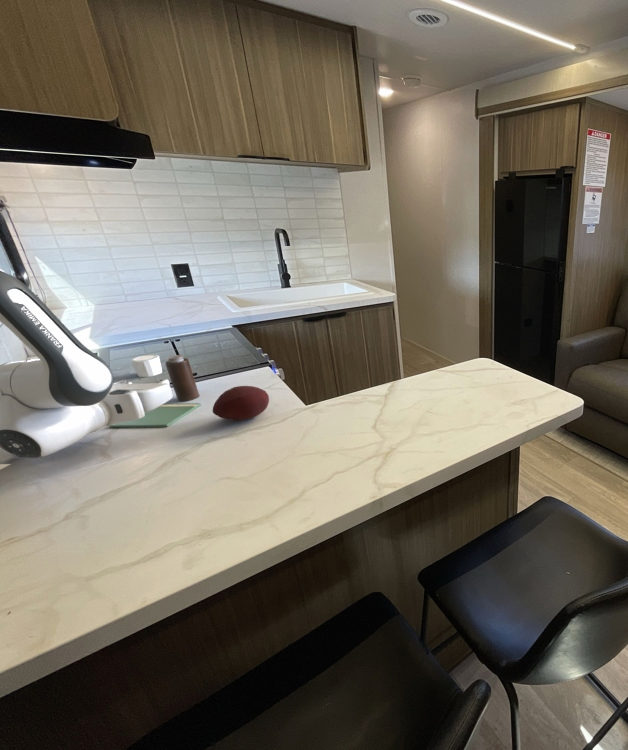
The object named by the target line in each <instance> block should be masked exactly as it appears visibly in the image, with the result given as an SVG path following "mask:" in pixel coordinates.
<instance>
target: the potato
mask: <svg viewBox="0 0 628 750" xmlns="http://www.w3.org/2000/svg"><path fill="white" fill-rule="evenodd" d="M269 403H270V396H269V394H268V393H267V391H266V390H264V389H262V388H259V387H257V386H253V385H239V386H233V387H231V388H229V389H227V390H225V391H223V393H221V394H220V395H219V396H218V398H217V399H216V401H215V402H214V403H213V406H212V414H213V415H215V416H217V417H219V418H220V419H225V420H227V421H245V420H249V419H252V418H255V417H257V416H259V415H261V414H262V413H263V412H265V410H266V409H267V408H268V406H269Z"/></svg>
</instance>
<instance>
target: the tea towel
mask: <svg viewBox="0 0 628 750" xmlns="http://www.w3.org/2000/svg"><path fill="white" fill-rule="evenodd" d="M201 405H202V404H201V402H195V403H194V402H192V403H191V402H190V403H188V402H187V403H164V404H163V405H161V406H159V407H157V408H156V409H154V410H151V411H149V412H145V416H144V417H142V418H141V419H138V420H132V421H126V422H120V423H116V424H113V425H110V426H108V427H109V428H113V429H114V428H168V427H169V426H171V425H172V424H174V423H175V422H176V423H177V421H178V420H180V419H182V418H184V417H185V416H186V415H188V414H190V413H192V412H193V411H194V410H196V409H197V408H199V407H200V406H201Z"/></svg>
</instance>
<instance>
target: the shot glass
mask: <svg viewBox="0 0 628 750" xmlns="http://www.w3.org/2000/svg"><path fill="white" fill-rule="evenodd" d="M130 362H131V365H132V367H133V369H134V370H135V372H136V374H137V377H139V378H148V377H155V376H158V375H160V374H162V373H163V369H162V364H161V363H162V362H161V359H160V355H159V354H146V355H140V356H136V357H134V358H131V359H130Z"/></svg>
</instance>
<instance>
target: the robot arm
mask: <svg viewBox="0 0 628 750" xmlns="http://www.w3.org/2000/svg"><path fill="white" fill-rule="evenodd" d="M0 323H1V324H2V325H4V326H5V327H6V328H7V329H8V330H10V332H12V333H13V335H15V336H16V338H17V339H19V340H20V341H21V343H23V344H24V346H26V348H28V350H30V351H31V352H32V354H34V356H36V357H37V358H33V359H31V358H30V359H25V360H17V361H10V362H5V363H3V364H0V448H1V449H2V450H4V451H5V452H7V453H9V454H11V455H14V456H15V457H20V458H26V459H27V458H28V459H37V458H42V457H43V458H44V457H46V456H49V455H52V454H54V453H56V452H59V451H61V450H63V449H66V448H67V447H70V446H72V445H74V444H75V443H78V442H79V441H81V440H83V439H84V438H85V437H86V436H87V435H88V434H90V433H95V432H98V431H99V430H101V429H103V428H105V427H109V426H110V425H113V424H116V423H120V422H126V421H132V420H138V419H141V418H142V417H144V416H145V412H149V411H151V410H154V409H156V408H157V407H159V406H161V405H163V404H167V403H168V402H169V401H170V400H172V399H173V395H174V394H173V390H172V387H171V386H170V385H171V383H170V380H169V379H167V378H166V379H160V380H157V381H156V383H155V382H154V383H152V382H151V383H132V381H131V379H121V380H119V381H116V382H114V375H113V372H112V369H111V368H110V366H109V365H108V364H107V362H106V361H104V359H103V358H102V357H100V356H99V355H97V354H96V353H94V352H93V351H91V350H90V349H89V348H88V347H86V346H85V344H83V343H82V342H81V341H80V340H79V339H78V338H77V337H76V336H75V335H74V334H73V333H72V332H71V331H70V330H69V328H68V327H67V326H66V325H65V324H64V323H63V322H62V321H61V320H60V319H59V317H57V315H56V314H55V313H54V312H53V311H52V310H51V309H50V307H48V306H47V305H46V304H45V303H44V302H43V301H42V300H41V298H39V296H37V294H35V292H34V291H32V290H31V288H29V286H27V284H25V283H24V282H22V281H21V280H20V279H18V278H17V277H15V276H13V275H12V274H10V273H8V272H6V271H4V270H3V269H1V268H0Z"/></svg>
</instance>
